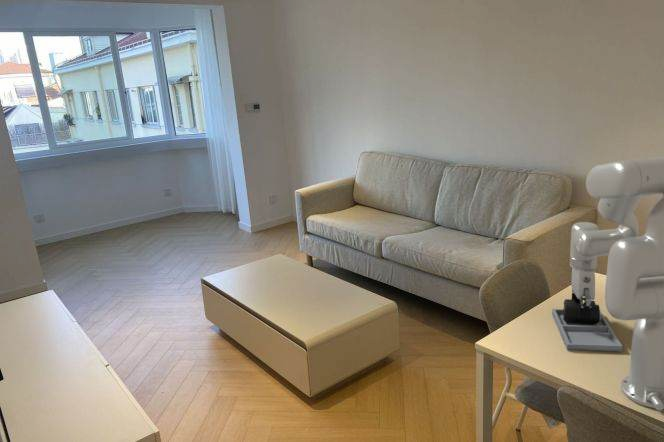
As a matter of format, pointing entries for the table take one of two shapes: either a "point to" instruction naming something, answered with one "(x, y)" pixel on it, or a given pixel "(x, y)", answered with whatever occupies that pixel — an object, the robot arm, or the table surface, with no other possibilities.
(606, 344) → the divided grey tray
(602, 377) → the table surface
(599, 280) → the table surface
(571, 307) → the end cap
